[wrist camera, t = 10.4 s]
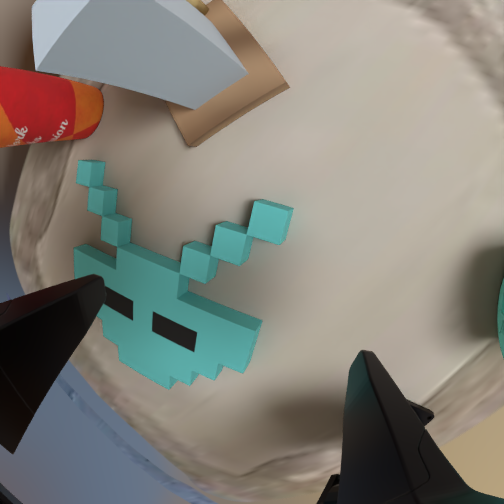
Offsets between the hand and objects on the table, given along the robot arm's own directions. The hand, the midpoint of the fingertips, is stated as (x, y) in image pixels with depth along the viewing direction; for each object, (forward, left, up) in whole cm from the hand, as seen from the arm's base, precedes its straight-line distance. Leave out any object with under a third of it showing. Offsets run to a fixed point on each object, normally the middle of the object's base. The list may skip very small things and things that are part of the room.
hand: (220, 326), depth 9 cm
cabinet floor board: (+11, -9, -11) cm, 18 cm away
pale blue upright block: (+11, -9, -10) cm, 18 cm away
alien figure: (+9, +10, -12) cm, 18 cm away
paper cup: (+24, -2, -12) cm, 27 cm away
